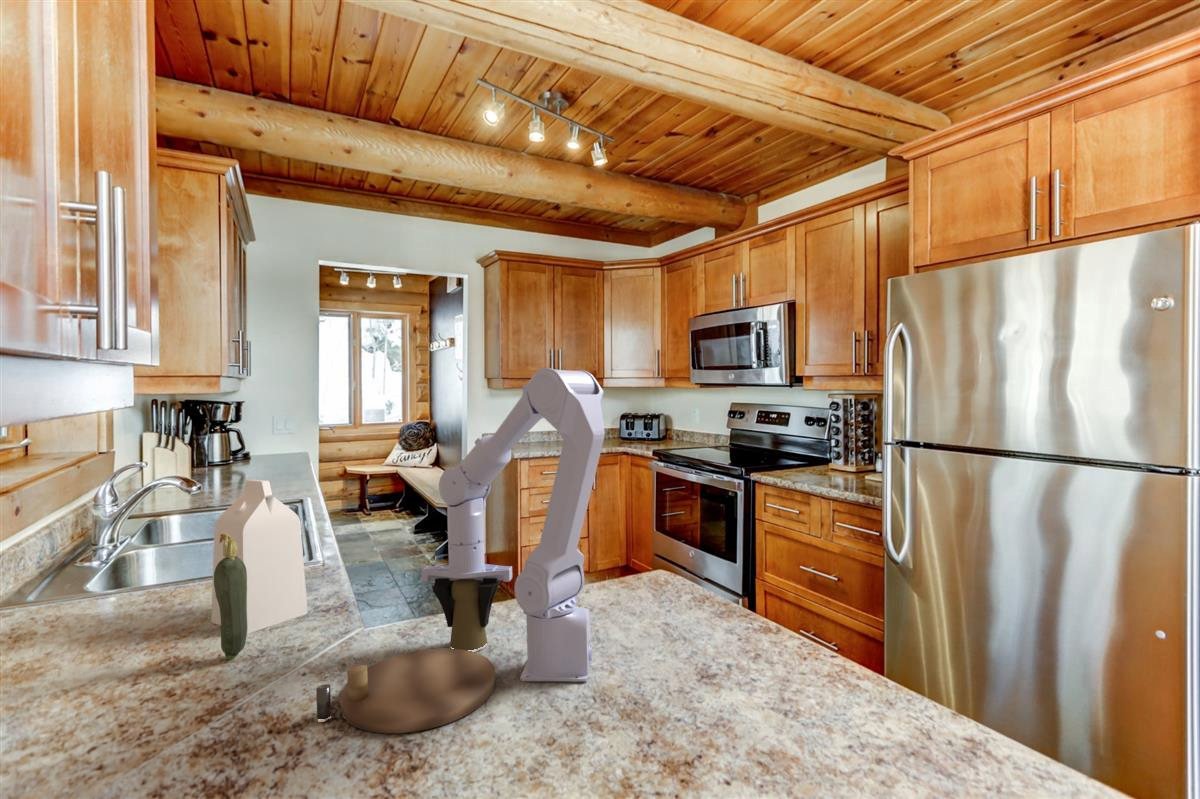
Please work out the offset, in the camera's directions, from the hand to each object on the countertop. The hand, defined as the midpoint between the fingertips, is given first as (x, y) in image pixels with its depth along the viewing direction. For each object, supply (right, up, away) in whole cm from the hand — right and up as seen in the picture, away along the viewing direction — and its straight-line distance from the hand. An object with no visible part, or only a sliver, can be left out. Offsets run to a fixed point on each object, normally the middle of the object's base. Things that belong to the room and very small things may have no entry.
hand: (468, 624), depth 93 cm
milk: (-43, -5, +15) cm, 46 cm away
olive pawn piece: (0, -4, 0) cm, 4 cm away
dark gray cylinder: (-5, -3, -15) cm, 17 cm away
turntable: (-3, -3, -15) cm, 16 cm away
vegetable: (-36, -5, -3) cm, 37 cm away
